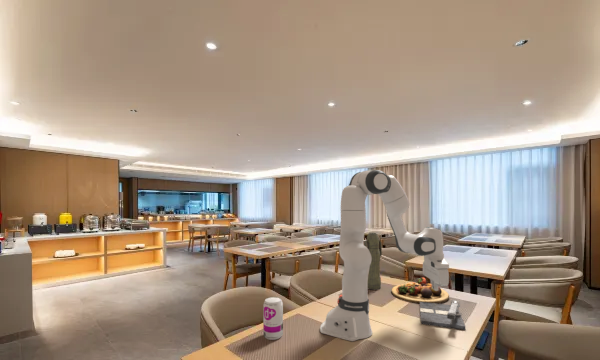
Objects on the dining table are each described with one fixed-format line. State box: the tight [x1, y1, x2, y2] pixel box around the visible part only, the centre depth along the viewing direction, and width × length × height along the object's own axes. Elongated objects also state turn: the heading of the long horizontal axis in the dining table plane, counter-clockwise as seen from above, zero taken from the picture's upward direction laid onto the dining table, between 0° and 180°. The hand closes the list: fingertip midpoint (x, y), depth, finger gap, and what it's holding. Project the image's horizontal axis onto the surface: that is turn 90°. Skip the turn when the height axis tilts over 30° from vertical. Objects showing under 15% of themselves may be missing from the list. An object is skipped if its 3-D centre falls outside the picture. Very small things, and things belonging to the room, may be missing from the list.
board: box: [419, 302, 466, 331], centre depth 144 cm, size 18×26×5 cm
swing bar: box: [447, 299, 461, 320], centre depth 135 cm, size 21×4×2 cm, turn 147°
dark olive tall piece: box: [363, 232, 383, 291], centre depth 190 cm, size 9×12×35 cm
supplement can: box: [262, 296, 284, 341], centre depth 125 cm, size 8×8×15 cm
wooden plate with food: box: [391, 276, 450, 305], centre depth 175 cm, size 32×32×8 cm
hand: (435, 289), depth 141 cm, fingers closed
